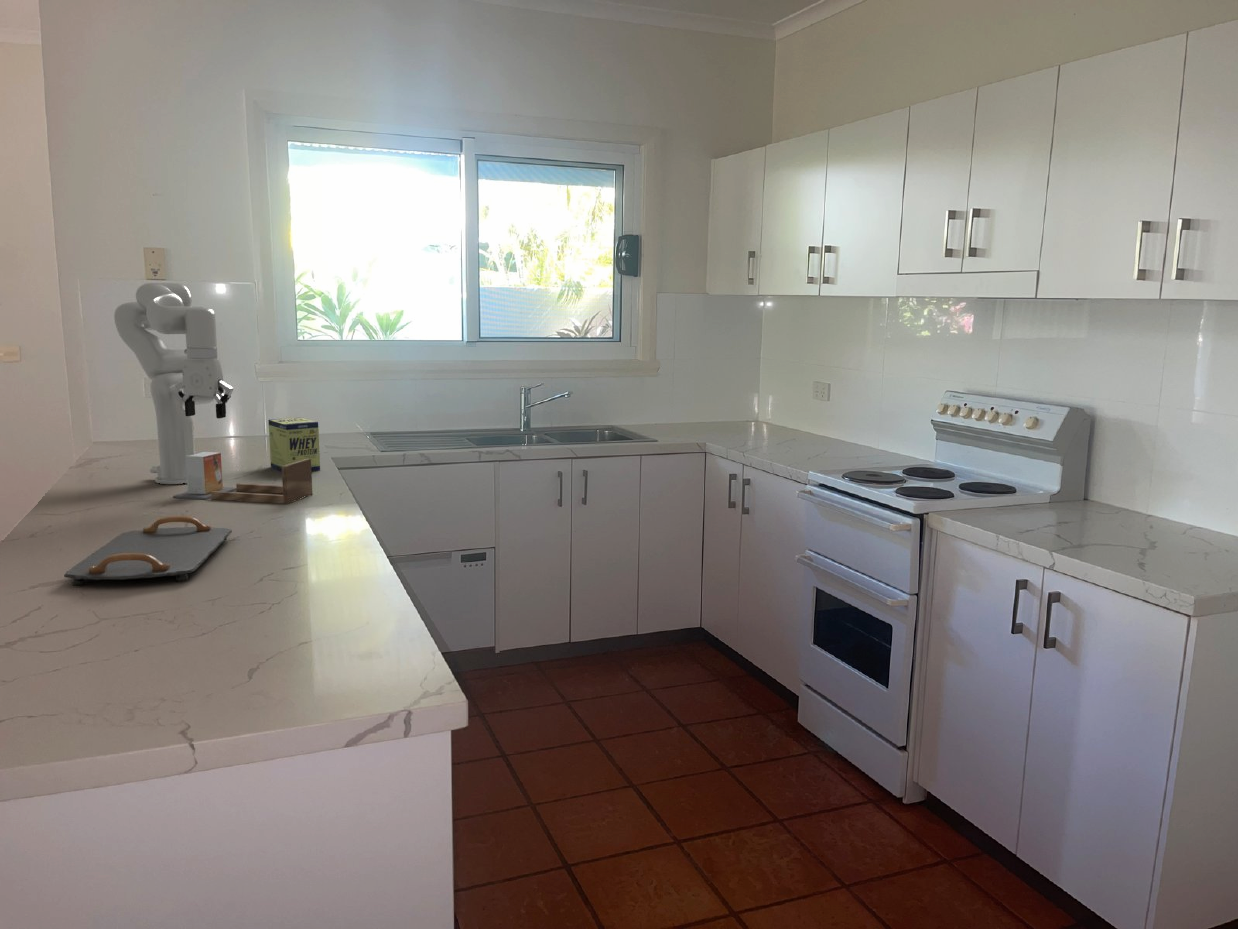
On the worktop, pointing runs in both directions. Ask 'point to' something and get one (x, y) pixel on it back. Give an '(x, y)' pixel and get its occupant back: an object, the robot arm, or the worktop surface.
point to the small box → (204, 472)
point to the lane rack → (276, 486)
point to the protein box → (294, 442)
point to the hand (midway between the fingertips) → (205, 416)
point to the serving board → (152, 552)
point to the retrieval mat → (202, 496)
